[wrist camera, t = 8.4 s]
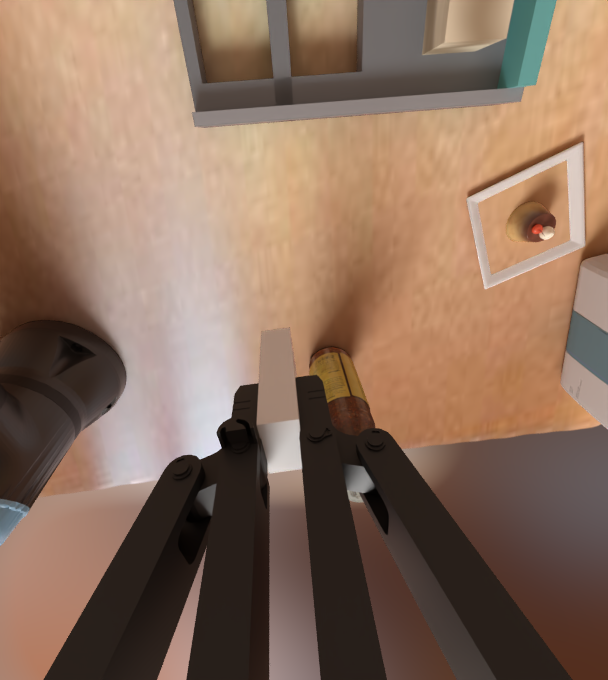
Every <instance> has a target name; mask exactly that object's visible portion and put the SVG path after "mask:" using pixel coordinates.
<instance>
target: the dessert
mask: <svg viewBox="0 0 608 680" xmlns="http://www.w3.org/2000/svg"><path fill="white" fill-rule="evenodd" d="M563 161H567V173H568V196H569V220H570V240H569V241H568V242H566V243H563V244H561V245H559V246H556V247H554V248H552V249H550V250H547V251H545V252H543V253H540V254H538V255H536V256H534V257H531V258H529V259H527V260H524V261H522V262H520V263H518V264H515V265H513V266H511V267H508V268H506V269H504V270H502V271H499V272H497V273H495V274H492V275H491V272H490V267H489V262H488V256H487V251H486V246H485V240H484V235H483V230H482V225H481V219H480V214H479V209H478V203H479V202H480V201H483V200H485V199H487V198H489V197H491V196H493V195H495V194H497V193H499V192H501V191H503V190H505V189H507V188H509V187H512V186H514V185H516V184H518V183H520V182H522V181H524V180H526V179H528V178H530V177H532V176H534V175H536V174H538V173H541V172H543V171H545V170H547V169H549V168H551V167H553V166H555V165H557V164H559V163H561V162H563ZM466 200H467V205H468V210H469V215H470V220H471V225H472V230H473V234H474V239H475V244H476V249H477V254H478V259H479V264H480V269H481V274H482V279H483V283H484V288H485V289H487V288H490V287H492V286H494V285H497V284H499V283H501V282H504V281H506V280H508V279H511V278H513V277H515V276H518V275H520V274H522V273H525V272H527V271H529V270H532V269H534V268H536V267H539V266H541V265H543V264H545V263H548V262H550V261H552V260H555V259H557V258H559V257H562V256H564V255H566V254H569V253H571V252H573V251H576V250H578V249H580V248H583V247H585V198H584V144H583V142H580V143H578V144H576V145H574V146H572V147H570V148H568V149H566V150H564V151H562V152H560V153H558V154H556V155H554V156H552V157H550V158H548V159H545V160H543V161H541V162H539V163H537V164H535V165H533V166H531V167H529V168H527V169H525V170H523V171H521V172H519V173H517V174H515V175H513V176H511V177H509V178H507V179H505V180H502V181H500V182H498V183H496V184H494V185H492V186H490V187H488V188H486V189H484V190H482V191H480V192H478V193H476V194H474V195H472V196H470V197H468V198H467V199H466ZM555 225H556V220H555V217H554V216H553V215H552V214H551V213H550V212H549V211H548V210H547V209H546V208H545V207H544V206H543V205H542V204H541V203H539V202H535V201H531V202H527V203H524V204H522V205H520V206H519V207H518V208H516V209H515V210H514V211H513V212H512V214H511V215H510V217H509V218H508V221H507V224H506V234H507V236H508V238H509V239H510V240H512V241H514V242H540V241H543V240H544V239H549V238H551V237H552V236H553V235H554V233H555V231H554V228H555Z"/></svg>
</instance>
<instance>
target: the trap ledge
mask: <svg viewBox="0 0 608 680" xmlns="http://www.w3.org/2000/svg"><path fill="white" fill-rule="evenodd" d="M173 1H174V6H175V11H176V16H177V21H178V26H179V31H180V36H181V41H182V46H183V51H184V56H185V61H186V66H187V71H188V76H189V81H190V86H191V91H192V96H193V101H194V106H195V111H196V112H193V113H192V115H193V120H194V125H195V127H203V128H206V127H218V126H231V125H244V124H257V123H270V122H283V121H295V120H308V119H321V118H334V117H347V116H360V115H372V114H385V113H398V112H411V111H424V110H437V109H449V108H462V107H475V106H488V105H498V104H506V103H513V102H520V101H521V99H522V95H523V90H524V87H526V86H531V85H536V82H537V78H538V74H539V70H540V66H541V62H542V58H543V54H544V50H545V46H546V41H547V37H548V33H549V29H550V25H551V21H552V17H553V13H554V9H555V5H556V1H557V0H514V3H513V8H512V13H511V18H510V23H509V28H508V33H507V38H506V39H503V40H501V41H499V42H496V43H494V44H492V45H489V46H487V47H485V48H482V49H480V50H478V51H475V52H460V53H446V54H431V55H422V50H423V40H424V30H425V20H426V10H427V0H358V5H357V72H349V73H336V74H323V75H310V76H297V77H291V65H290V51H289V36H288V21H287V7H286V0H266V1H267V12H268V23H269V34H270V45H271V56H272V67H273V78H271V79H257V80H244V81H231V82H218V83H207V80H206V74H205V69H204V63H203V57H202V52H201V46H200V40H199V35H198V29H197V23H196V18H195V12H194V6H193V1H192V0H173Z"/></svg>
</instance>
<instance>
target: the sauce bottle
mask: <svg viewBox="0 0 608 680" xmlns="http://www.w3.org/2000/svg"><path fill="white" fill-rule="evenodd" d="M309 368H310V371H309V374H310V376H311V375H318V376H319V378H320V379H321V380H322V381H323V384H324V389H325V394H326V399H327V403H328V408H329V413H330V418H331V422H332V424H333V426H334V427H335V428H336V429H337V430H338V431H340V432H342V433H344V434H348V435H355V436H358V435H359V434H360V433H361V432H362V431H364V430H366V429H370V428H375V423H374V420H373V418H372V415H371V413H370V407H369V404H368V402H367V399H366V396H365V394H364V391H363V388H362V385H361V383H360V380H359V378H358V375H357V372H356V369H355V367H354V364H353V362H352V360H351V359H350V356H349V355H348V354H347V353H346V352H345V351H343V350H341V349H339V348H336V347H328V348H325V349H321V350H320V351H318V352H317V353H315V354H314V356H313V357H312V358H311V361H310V364H309ZM347 492H348V497H349V500H351V501H354V502H363V500H362V498H361V496H360V494H359V492H354V491H349V490H347Z"/></svg>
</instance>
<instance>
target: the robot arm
mask: <svg viewBox="0 0 608 680" xmlns="http://www.w3.org/2000/svg"><path fill="white" fill-rule="evenodd" d="M125 385H126V373H125V369H124V366H123V364H122V362H121V360H120V358H119V357H118V355H117V354H116V353H115V352H114V350H113V349H112V348H111V347H110V346H109V345H108V344H107V343H105V342H104V341H103V340H102V339H100V338H99V337H97V336H96V335H94V334H93V333H91V332H89V331H87V330H85V329H83V328H80V327H78V326H75V325H72V324H68V323H64V322H59V321H50V320H41V321H33V322H29V323H25V324H23V325H20V326H19V327H17V328H15V329H14V330H13V331H11V332H10V333H8V334H7V335H6V336H4V337H3V338H2V339H1V340H0V545H2V544H3V543H4V541H5V540H6V539H7V537H8V536H9V535H10V533H11V532H12V531H13V530H14V528H15V527H16V525H17V524H18V523H19V522H20V520H21V519H22V518H23V517H25V516H26V515H27V514H28V511H29V510H30V508H31V507H32V505H33V503H34V502H35V500H36V499H37V497H38V496H39V494H40V493H41V491H42V490H43V488H44V486H45V485H46V483H47V482H48V480H49V479H50V477H51V476H52V474H53V473H54V471H55V470H56V468H57V466H58V465H59V463H60V462H61V460H62V459H63V457H64V456H65V454H66V453H67V451H68V449H69V448H70V446H71V445H72V443H73V442H74V440H75V439H76V437H77V436H78V434H79V433H80V432H81V431H83V430H84V429H85V428H87V427H88V426H89V425H91V424H92V423H93V422H95V421H96V420H97V419H99V418H100V417H101V416H102V415H104V414H105V413H107V412H108V411H109V410H110V409H111V408H112V407H113V406H114V405H115V404H116V402H117V401H118V399H119V398H120V396H121V394H122V393H123V391H124V388H125ZM217 436H218V438H219V441H220V444H221V447H222V449H220V450H219V451H218V452H216V453H214V454H212V455H210V456H208V457H205V458H203V459H201V460H200V459H199V458H198V457H197V456H193V455H183V456H181V457H178V458H176V459H175V460H173V461H172V462H171V463H170V464H169V465H168V466H167V467H166V469H165V470H164V472H163V473H162V475H161V477H160V479H159V480H158V482H157V484H156V486H155V487H154V489H153V491H152V493H151V494H150V496H149V498H148V500H147V501H146V503H145V505H144V506H143V508H142V510H141V512H140V513H139V515H138V517H137V519H136V521H135V522H134V524H133V526H132V527H131V529H130V531H129V532H128V534H127V536H126V538H125V540H124V541H123V543H122V545H121V546H120V548H119V550H118V552H117V553H116V555H115V557H114V558H113V560H112V562H111V564H110V566H109V567H108V569H107V571H106V572H105V574H104V576H103V578H102V579H101V581H100V583H99V585H98V586H97V588H96V590H95V591H94V593H93V595H92V597H91V598H90V600H89V602H88V603H87V605H86V607H85V609H84V611H83V612H82V614H81V616H80V618H79V619H78V621H77V623H76V624H75V626H74V628H73V629H72V631H71V633H70V635H69V636H68V638H67V640H66V642H65V643H64V645H63V647H62V649H61V650H60V652H59V654H58V655H57V657H56V659H55V661H54V663H53V664H52V666H51V668H50V670H49V671H48V673H47V675H46V676H45V678H44V680H157V678H158V675H159V673H160V670H161V667H162V665H163V662H164V659H165V656H166V654H167V651H168V648H169V646H170V643H171V640H172V637H173V635H174V632H175V630H176V627H177V624H178V622H179V619H180V616H181V614H182V611H183V608H184V605H185V603H186V600H187V598H188V595H189V592H190V589H191V587H192V584H193V581H194V578H195V576H196V573H197V570H198V568H199V565H200V562H201V560H202V557H203V554H204V552H205V549H206V547H207V549H206V557H205V562H204V569H203V576H202V582H201V588H200V595H199V602H198V608H197V615H196V621H195V627H194V635H193V640H192V647H191V653H190V660H189V666H188V673H187V680H269V494H270V493H269V492H270V487H269V482H268V478H267V467H268V471H269V473H276V472H283V471H291V470H297V469H302V473H303V484H304V496H305V507H306V518H307V529H308V540H309V552H310V563H311V574H312V585H313V596H314V608H315V619H316V630H317V641H318V651H319V664H320V675H321V680H387V678H386V673H385V668H384V664H383V659H382V655H381V649H380V645H379V640H378V635H377V630H376V625H375V621H374V616H373V612H372V606H371V602H370V597H369V592H368V587H367V583H366V578H365V573H364V569H363V564H362V559H361V555H360V549H359V545H358V540H357V535H356V530H355V526H354V521H353V516H352V512H351V508H350V502H349V497H348V492H347V490H349V491H354V492H359V494H360V496H361V498H362V500H363V502H364V503H365V505H366V507H367V509H368V511H369V513H370V515H371V517H372V518H373V521H374V522H375V524H376V526H377V528H378V530H379V532H380V534H381V536H382V538H383V539H384V541H385V544H386V545H387V547H388V549H389V551H390V553H391V555H392V557H393V559H394V561H395V563H396V564H397V566H398V568H399V570H400V572H401V574H402V576H403V577H404V580H405V581H406V583H407V585H408V587H409V589H410V591H411V593H412V595H413V597H414V599H415V601H416V603H417V604H418V606H419V608H420V610H421V612H422V614H423V616H424V618H425V620H426V622H427V624H428V625H429V627H430V629H431V631H432V633H433V635H434V637H435V639H436V641H437V642H438V644H439V646H440V648H441V650H442V652H443V654H444V656H445V658H446V660H447V662H448V663H449V665H450V667H451V669H452V671H453V673H454V675H455V677H456V679H457V680H572V679H571V677H570V676H569V675H568V673H567V672H566V670H565V669H564V668H563V667H562V665H561V664H560V663H559V661H558V660H557V658H556V657H555V656H554V654H553V653H552V652H551V650H550V649H549V648H548V646H547V645H546V643H545V642H544V641H543V639H542V638H541V637H540V635H539V634H538V633H537V632H536V630H535V629H534V627H533V626H532V625H531V623H530V622H529V621H528V619H527V618H526V617H525V615H524V614H523V612H522V611H521V610H520V609H519V607H518V606H517V604H516V603H515V602H514V600H513V599H512V598H511V597H510V595H509V594H508V592H507V591H506V590H505V588H504V587H503V586H502V584H501V583H500V581H499V580H498V579H497V578H496V576H495V575H494V574H493V572H492V571H491V569H490V568H489V567H488V565H487V564H486V563H485V561H484V560H483V559H482V557H481V556H480V555H479V553H478V552H477V550H476V549H475V548H474V546H473V545H472V544H471V542H470V541H469V540H468V539H467V537H466V536H465V534H464V533H463V532H462V530H461V529H460V528H459V526H458V525H457V523H456V522H455V521H454V519H453V518H452V517H451V515H450V514H449V513H448V511H447V510H446V509H445V507H444V506H443V505H442V503H441V502H440V501H439V499H438V498H437V497H436V495H435V494H434V493H433V492H432V490H431V488H430V487H429V486H428V484H427V483H426V482H425V481H424V479H423V478H422V476H421V475H420V474H419V472H418V471H417V470H416V468H415V467H414V466H413V464H412V463H411V461H410V460H409V459H408V457H407V456H406V455H405V453H404V452H403V451H402V449H401V448H400V447H399V445H398V444H397V443H396V441H395V440H394V439H393V437H392V436H391V435H390V434H389V433H388V432H386V431H384V430H382V429H378V428H370V429H366V430H364V431H362V432H361V433H360V434H359V435H358V436H355V435H348V434H344V433H342V432H340V431H338V430H337V429H336V428H335V427H334V426H333V424H332V422H331V418H330V413H329V408H328V403H327V399H326V394H325V389H324V384H323V381H322V380H321V379H320V378H319V376H318V375H311V376H303V377H297V373H296V365H295V359H294V352H293V345H292V339H291V332H290V327H289V328H282V329H274V330H267V331H261V347H260V366H259V383H258V384H251V385H243V386H240V387H239V389H238V390H237V392H236V393H235V396H234V404H233V411H232V417H231V418H230V419H228V420H227V421H225V422H223V423H222V424H221V425H220V427H219V428H218V430H217Z"/></svg>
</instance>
